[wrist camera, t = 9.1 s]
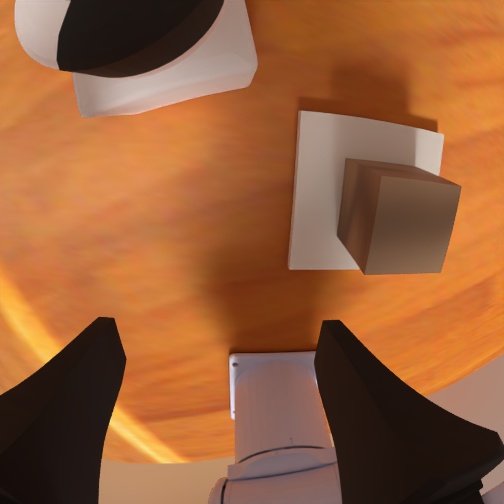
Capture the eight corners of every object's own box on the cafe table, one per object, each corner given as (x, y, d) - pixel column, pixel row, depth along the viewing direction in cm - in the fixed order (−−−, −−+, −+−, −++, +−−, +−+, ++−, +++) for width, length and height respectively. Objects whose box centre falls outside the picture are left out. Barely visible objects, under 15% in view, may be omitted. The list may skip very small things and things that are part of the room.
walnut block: (402, 237, 19) (440, 272, 15) (336, 235, 19) (364, 274, 15) (415, 166, 17) (461, 186, 13) (345, 158, 17) (381, 175, 12)
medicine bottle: (229, -16, 13) (222, -146, 2) (251, 87, 16) (277, 38, 5) (115, 15, 13) (-5, -53, 2) (133, 115, 16) (-4, 136, 5)
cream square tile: (413, 263, 21) (418, 268, 21) (287, 264, 21) (289, 269, 20) (437, 133, 17) (444, 134, 16) (298, 110, 16) (300, 110, 16)
